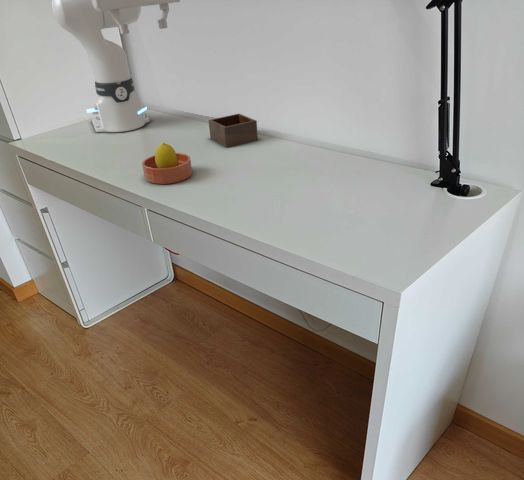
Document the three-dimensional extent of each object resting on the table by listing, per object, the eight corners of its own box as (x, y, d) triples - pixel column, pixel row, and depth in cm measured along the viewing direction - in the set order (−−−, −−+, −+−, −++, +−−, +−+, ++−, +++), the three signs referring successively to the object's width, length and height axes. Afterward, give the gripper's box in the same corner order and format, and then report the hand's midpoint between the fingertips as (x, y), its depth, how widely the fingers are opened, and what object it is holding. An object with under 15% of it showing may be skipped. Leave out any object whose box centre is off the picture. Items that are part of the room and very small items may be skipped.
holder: (210, 139, 152) (208, 120, 149) (240, 132, 156) (239, 113, 153) (226, 147, 145) (224, 127, 142) (257, 140, 149) (256, 120, 145)
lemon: (182, 175, 128) (177, 143, 123) (161, 180, 126) (155, 147, 121) (175, 169, 132) (170, 138, 127) (155, 173, 130) (149, 141, 125)
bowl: (138, 174, 131) (135, 159, 129) (180, 164, 136) (178, 149, 133) (155, 188, 123) (152, 172, 120) (200, 177, 127) (198, 161, 125)
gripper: (168, -47, 113) (180, 25, 121) (79, -40, 105) (98, 36, 113) (179, -51, 108) (190, 25, 116) (87, -44, 100) (106, 37, 109)
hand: (144, 31), depth 115 cm, fingers open, 8 cm apart
